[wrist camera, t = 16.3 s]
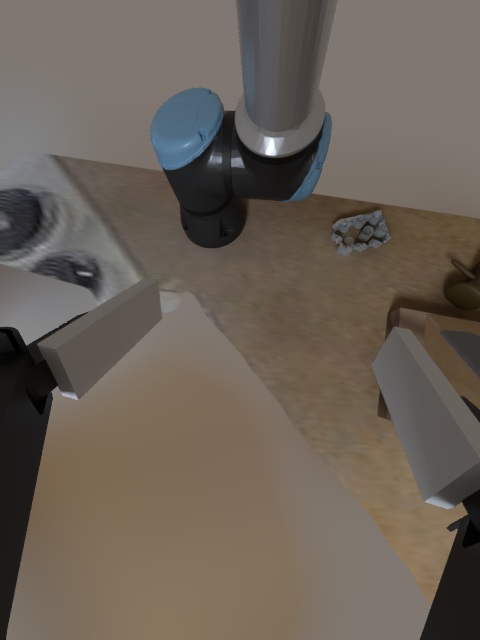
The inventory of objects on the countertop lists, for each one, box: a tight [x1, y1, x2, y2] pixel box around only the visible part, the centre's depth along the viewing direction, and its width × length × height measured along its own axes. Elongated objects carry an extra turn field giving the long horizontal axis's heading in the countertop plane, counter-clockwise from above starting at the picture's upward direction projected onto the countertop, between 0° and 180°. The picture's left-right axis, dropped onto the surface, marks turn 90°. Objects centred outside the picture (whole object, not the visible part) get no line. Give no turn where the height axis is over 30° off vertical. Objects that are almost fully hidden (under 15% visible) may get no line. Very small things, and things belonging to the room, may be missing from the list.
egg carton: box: [331, 210, 391, 256], centre depth 48 cm, size 11×8×4 cm
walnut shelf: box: [378, 308, 480, 421], centre depth 40 cm, size 20×16×4 cm
